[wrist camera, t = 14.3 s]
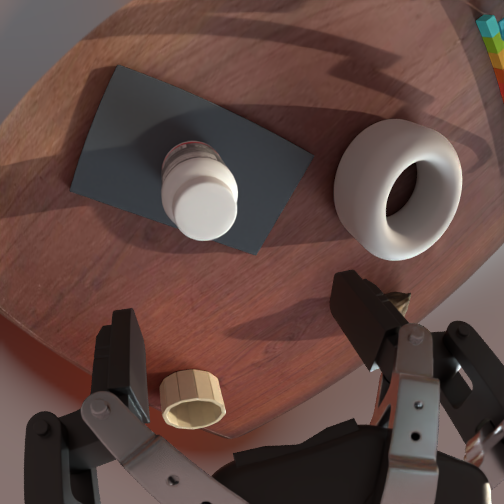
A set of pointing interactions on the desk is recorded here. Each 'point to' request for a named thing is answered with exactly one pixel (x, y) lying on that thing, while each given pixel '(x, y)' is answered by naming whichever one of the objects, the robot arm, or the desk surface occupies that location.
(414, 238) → the fat ring
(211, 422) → the bracelet
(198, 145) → the pill bottle
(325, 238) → the desk surface
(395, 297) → the fossilized seashell
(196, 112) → the mat
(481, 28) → the chart
